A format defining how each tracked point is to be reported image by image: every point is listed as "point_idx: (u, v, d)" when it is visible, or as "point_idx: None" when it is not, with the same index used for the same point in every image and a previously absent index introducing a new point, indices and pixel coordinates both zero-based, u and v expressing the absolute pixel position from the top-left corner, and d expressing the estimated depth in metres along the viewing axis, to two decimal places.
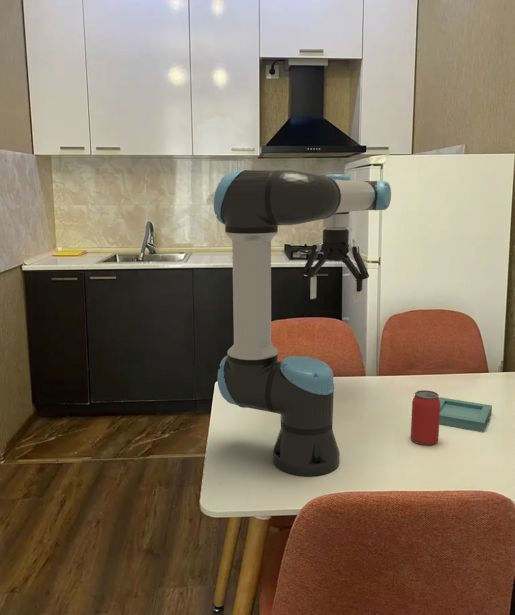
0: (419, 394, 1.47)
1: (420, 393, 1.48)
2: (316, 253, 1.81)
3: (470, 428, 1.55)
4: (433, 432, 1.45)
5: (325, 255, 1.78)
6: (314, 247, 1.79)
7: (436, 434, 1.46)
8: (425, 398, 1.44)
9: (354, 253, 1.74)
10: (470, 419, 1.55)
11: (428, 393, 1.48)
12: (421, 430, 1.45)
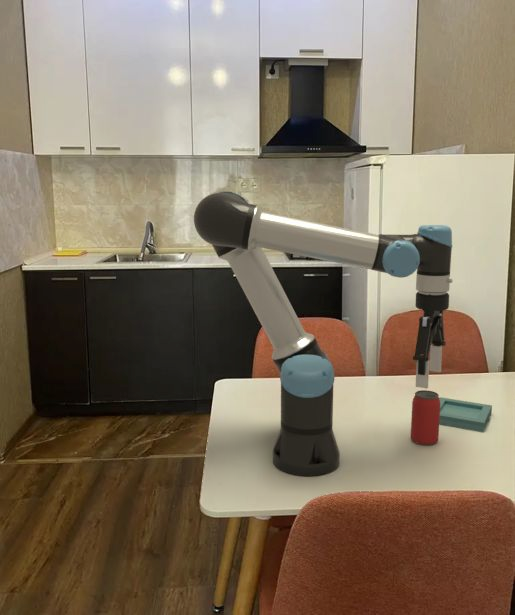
0: (419, 394, 1.47)
1: (420, 393, 1.48)
2: None
3: (470, 428, 1.55)
4: (433, 432, 1.45)
5: None
6: None
7: (436, 434, 1.46)
8: (425, 398, 1.44)
9: None
10: (470, 419, 1.55)
11: (428, 393, 1.48)
12: (421, 430, 1.45)
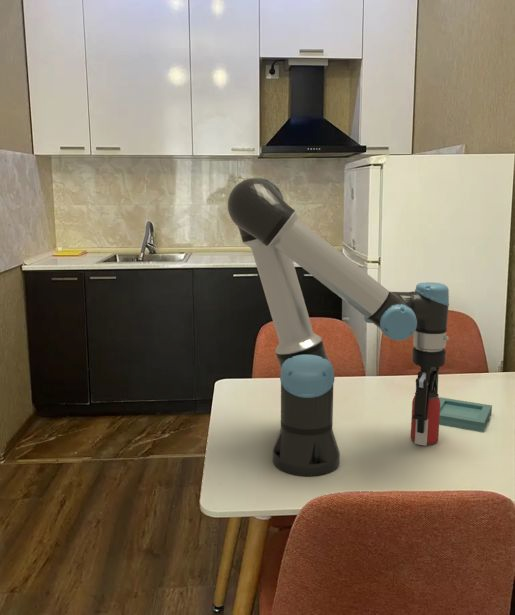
0: None
1: None
2: None
3: (470, 428, 1.55)
4: (433, 432, 1.45)
5: None
6: None
7: (436, 434, 1.46)
8: None
9: None
10: (470, 419, 1.55)
11: None
12: None
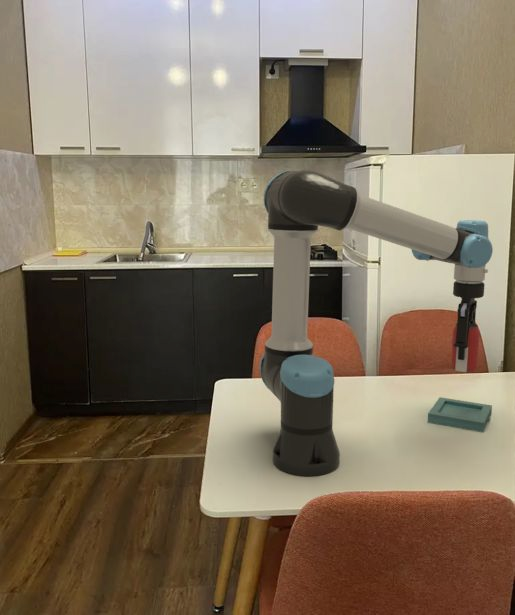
0: None
1: None
2: None
3: (470, 428, 1.55)
4: (473, 360, 1.56)
5: None
6: None
7: (475, 362, 1.57)
8: None
9: (458, 315, 1.53)
10: (470, 419, 1.55)
11: None
12: None
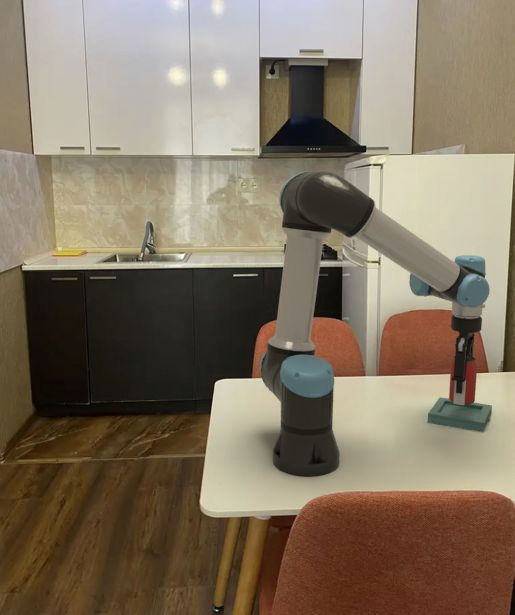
0: None
1: None
2: None
3: (470, 428, 1.55)
4: (470, 393, 1.58)
5: None
6: None
7: (473, 395, 1.59)
8: None
9: None
10: (470, 419, 1.55)
11: None
12: None
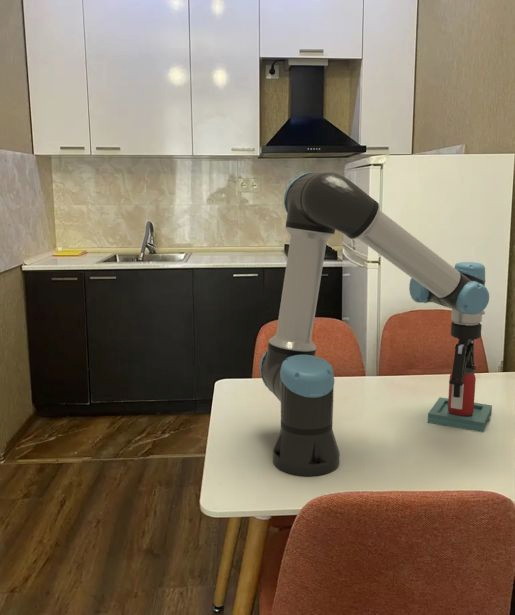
0: None
1: None
2: None
3: (470, 428, 1.55)
4: (469, 405, 1.59)
5: None
6: None
7: (472, 406, 1.60)
8: None
9: (455, 353, 1.54)
10: (470, 419, 1.55)
11: None
12: None
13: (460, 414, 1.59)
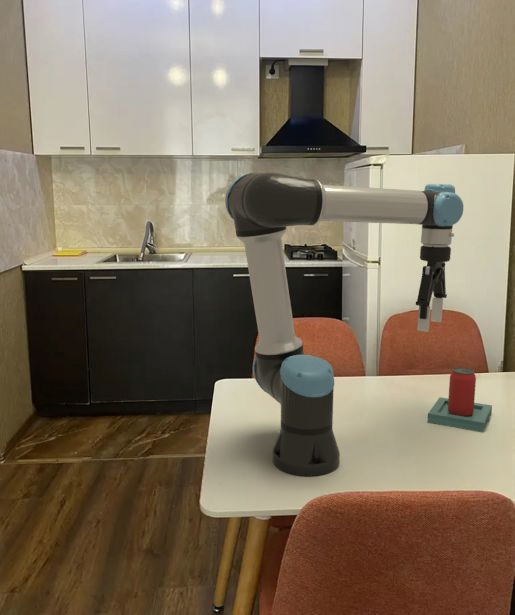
0: (456, 370, 1.61)
1: (457, 369, 1.62)
2: None
3: (470, 428, 1.55)
4: (469, 405, 1.59)
5: None
6: None
7: (472, 406, 1.60)
8: (462, 373, 1.58)
9: None
10: (470, 419, 1.55)
11: (464, 369, 1.61)
12: (458, 403, 1.59)
13: (460, 414, 1.59)
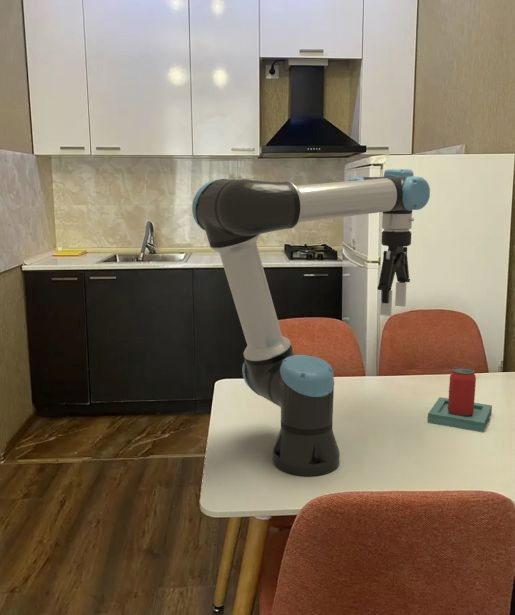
0: (456, 370, 1.61)
1: (457, 369, 1.62)
2: None
3: (470, 428, 1.55)
4: (469, 405, 1.59)
5: None
6: None
7: (472, 406, 1.60)
8: (462, 373, 1.58)
9: None
10: (470, 419, 1.55)
11: (464, 369, 1.61)
12: (458, 403, 1.59)
13: (460, 414, 1.59)
